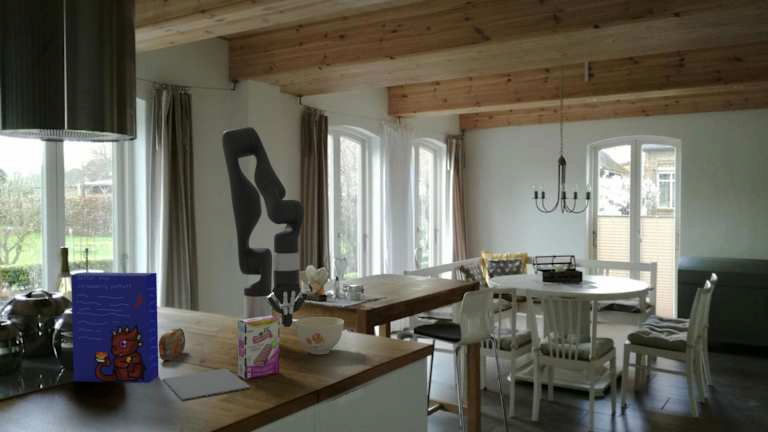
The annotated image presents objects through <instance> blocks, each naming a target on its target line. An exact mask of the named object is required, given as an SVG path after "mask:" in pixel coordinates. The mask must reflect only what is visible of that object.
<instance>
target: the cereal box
mask: <svg viewBox="0 0 768 432" xmlns="http://www.w3.org/2000/svg"><path fill="white" fill-rule="evenodd" d="M157 275H158V273H157V272H95V271H94V272H92V271H91V272H77V273H74V274H71V275H70V278H71V279H70V280H71V282H70V283H71V317H72V319H71V321H72V324H71V325H72V353H73V354H72V357H73V359H72V360H73V382H88V383H89V382H93V383H124V384H125V383H127V384H128V383H130V384H131V383H132V384H150V383H151V382H153V381H154V380H156V379H157V378H159V375H160V374H159V337H158V336H159V333H158V332H159V331H158V327H159V326H158V325H159V323H158V287H157V283H158V279H157V277H158V276H157Z"/></svg>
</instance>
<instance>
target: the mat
mask: <svg viewBox="0 0 768 432" xmlns="http://www.w3.org/2000/svg"><path fill="white" fill-rule="evenodd" d="M162 382H164V383H165V384H166V386H167V385H168V386H167V387H168V388H169V389H170V388H171V389H172V390H173V391H172V390H171V389H170V390H171V391H172V392H173V393H174V394H175V395H176V397H178V399H180V401H182V400H184V401H187V400H186V399H190V398H195V399H197V398H196V397H200V396H206V395H211V394H217V393H222V392H228V393H230V392H229V391H233V392H236V391H235V390H238V391H243V390H242V389H244V390H248V389H247V388H249V389H251V386H250V385H249V384H248V383H246V382H245V380H243V379H242V378H240V377H239V376H238V375H236V374H234V373H233V372H231V371H230V370H229V369H227V368H221V369H215V370H209V371H203V372H197V373H191V374H184V375H179V376H173V377H166V378H162ZM222 394H223V393H222ZM217 395H218V394H217ZM211 396H212V395H211ZM206 397H207V396H206ZM190 400H191V399H190Z"/></svg>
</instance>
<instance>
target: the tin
mask: <svg viewBox="0 0 768 432" xmlns="http://www.w3.org/2000/svg"><path fill="white" fill-rule="evenodd" d="M185 346H186V336H185V331H184V330H183V329H182V328H173V329H170V330H168V331H167V332H166V333H164V334H162V335H161V336H160V338H159V339H158V354H159V358H160V360H162V361H173V360H174V359H176V358H178V357H179V356H181V355H182V354H183V352H184V350H185Z"/></svg>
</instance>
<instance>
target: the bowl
mask: <svg viewBox="0 0 768 432" xmlns="http://www.w3.org/2000/svg"><path fill="white" fill-rule="evenodd" d="M294 324H295V325H294V326H295V330H296V333H297V337H298V340H299V342H300V344H301V345H302V346H303V347H304V348H306V349H308V350H309V352H310V354H313V355H325V354H329V353H330V351H331V350H332V349H333V348H334V347H335V346H336V345H337V344H338V343H339V341H340V340H341V338H342V334H343V330H344V326H345V325H344V324H345V321H344V320H343V319H342V318H339V317H338V318H337V317H334V316H314V317H313V316H312V317H311V316H310V317H305V318H301V319H300V318H299V319H297V320H296V321H295V322H294Z"/></svg>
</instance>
